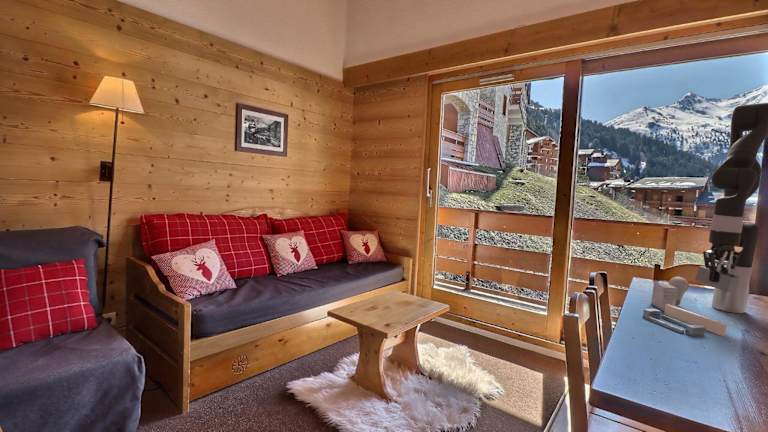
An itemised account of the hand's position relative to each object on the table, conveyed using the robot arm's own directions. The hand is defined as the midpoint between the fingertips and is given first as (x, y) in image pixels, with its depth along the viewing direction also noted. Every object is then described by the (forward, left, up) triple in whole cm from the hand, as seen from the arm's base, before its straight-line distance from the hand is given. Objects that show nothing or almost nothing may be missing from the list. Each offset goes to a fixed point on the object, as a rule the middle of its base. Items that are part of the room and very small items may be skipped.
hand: (717, 281), depth 125 cm
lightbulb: (-7, -17, -14) cm, 23 cm away
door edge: (+8, 0, -14) cm, 16 cm away
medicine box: (+2, -15, -14) cm, 21 cm away
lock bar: (0, -1, -2) cm, 2 cm away
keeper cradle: (+17, 0, -14) cm, 22 cm away
